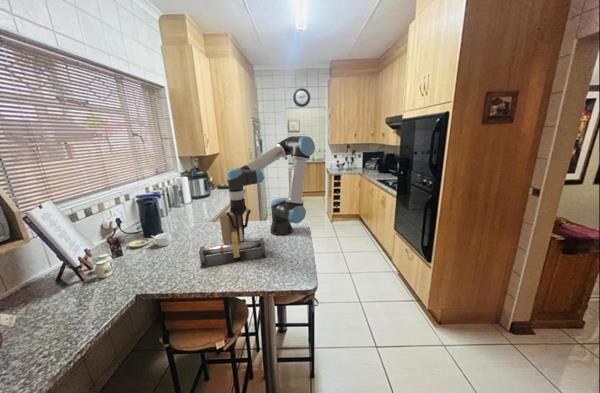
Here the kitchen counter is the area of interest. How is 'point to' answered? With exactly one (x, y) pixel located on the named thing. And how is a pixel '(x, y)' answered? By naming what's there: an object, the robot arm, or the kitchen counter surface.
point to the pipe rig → (231, 253)
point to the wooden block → (229, 228)
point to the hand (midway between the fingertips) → (241, 239)
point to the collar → (235, 244)
